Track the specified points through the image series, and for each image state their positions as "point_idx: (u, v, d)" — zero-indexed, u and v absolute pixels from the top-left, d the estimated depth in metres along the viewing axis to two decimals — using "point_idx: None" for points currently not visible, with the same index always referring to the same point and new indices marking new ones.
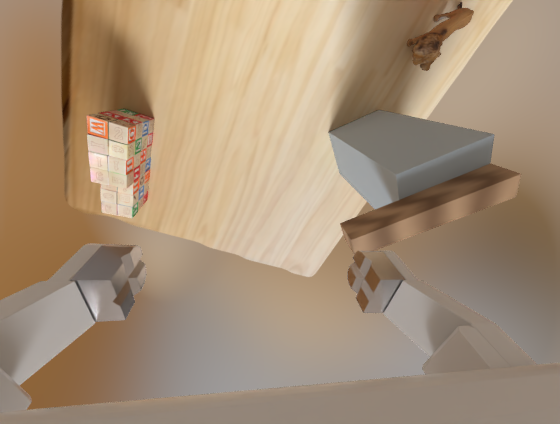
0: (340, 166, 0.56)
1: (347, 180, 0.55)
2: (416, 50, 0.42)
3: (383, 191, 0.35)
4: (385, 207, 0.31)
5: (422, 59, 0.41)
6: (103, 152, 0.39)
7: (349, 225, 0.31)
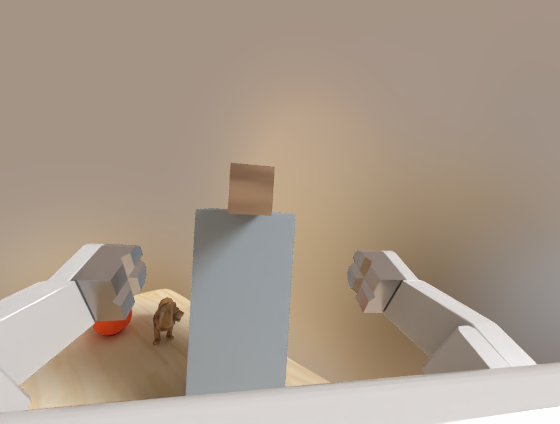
0: None
1: None
2: (159, 320, 0.43)
3: (237, 247, 0.26)
4: None
5: (168, 312, 0.43)
6: None
7: None
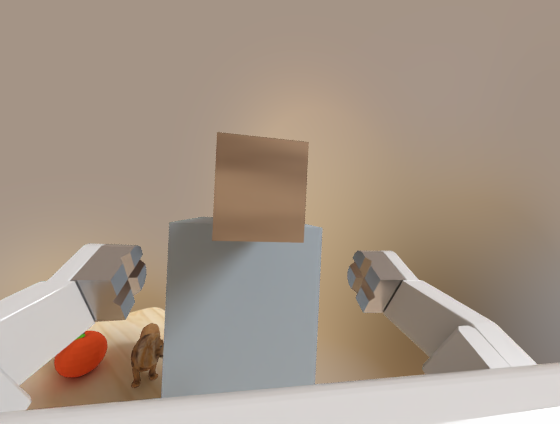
0: None
1: None
2: (137, 358, 0.34)
3: (235, 279, 0.17)
4: None
5: (148, 347, 0.34)
6: None
7: None
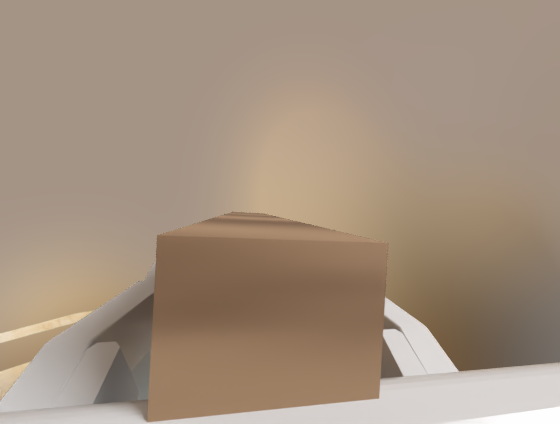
0: None
1: None
2: None
3: None
4: None
5: None
6: None
7: None
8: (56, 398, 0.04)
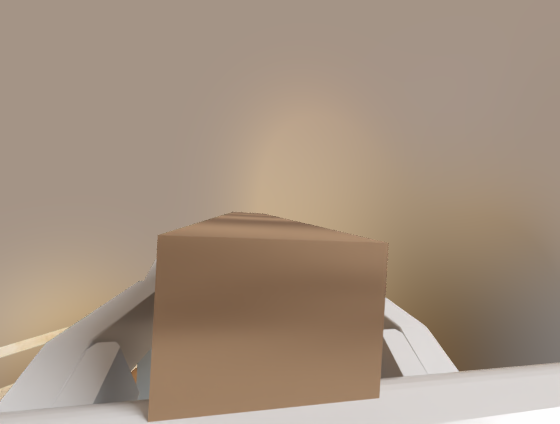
0: None
1: None
2: None
3: None
4: None
5: None
6: None
7: None
8: (56, 398, 0.04)
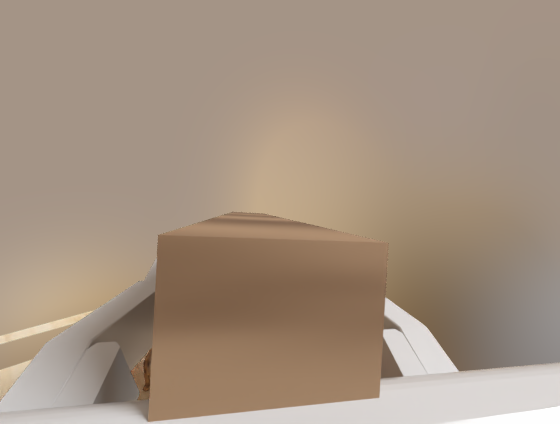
0: None
1: None
2: (149, 367, 0.41)
3: None
4: None
5: None
6: None
7: None
8: (56, 398, 0.04)
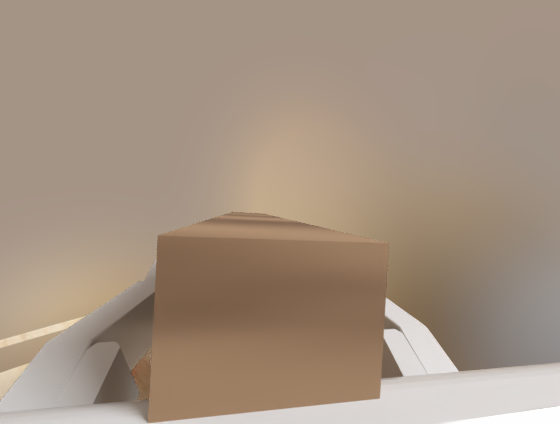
0: None
1: None
2: None
3: None
4: None
5: None
6: None
7: None
8: (56, 398, 0.04)
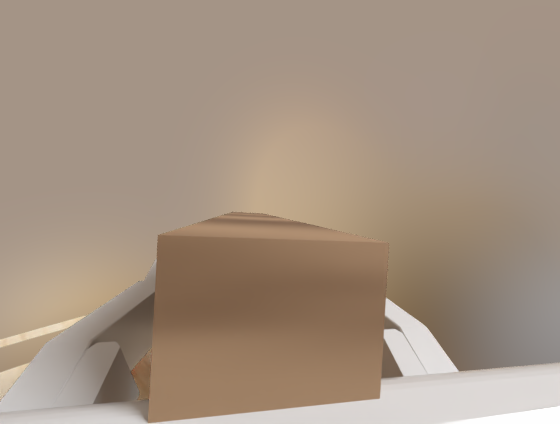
0: None
1: None
2: None
3: None
4: None
5: None
6: None
7: None
8: (56, 398, 0.04)
